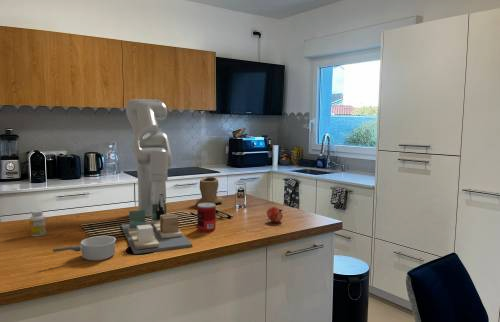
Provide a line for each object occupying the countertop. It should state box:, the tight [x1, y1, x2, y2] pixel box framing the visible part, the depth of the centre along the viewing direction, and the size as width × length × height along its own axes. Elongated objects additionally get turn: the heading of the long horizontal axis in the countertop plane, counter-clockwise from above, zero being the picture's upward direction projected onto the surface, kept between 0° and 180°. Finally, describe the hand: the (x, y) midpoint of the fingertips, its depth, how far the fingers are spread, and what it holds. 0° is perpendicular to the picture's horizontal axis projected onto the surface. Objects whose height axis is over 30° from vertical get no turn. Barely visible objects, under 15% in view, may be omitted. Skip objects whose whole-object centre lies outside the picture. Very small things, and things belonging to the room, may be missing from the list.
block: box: [137, 224, 153, 243], centre depth 145 cm, size 5×5×5 cm
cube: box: [160, 213, 180, 234], centre depth 157 cm, size 6×6×6 cm
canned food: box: [196, 203, 217, 233], centre depth 167 cm, size 8×8×11 cm
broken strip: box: [128, 210, 159, 249], centre depth 150 cm, size 25×8×8 cm, turn 25°
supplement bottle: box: [29, 209, 47, 237], centre depth 157 cm, size 5×5×10 cm
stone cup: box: [196, 176, 224, 204], centre depth 216 cm, size 15×12×15 cm
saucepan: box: [52, 235, 117, 261], centre depth 132 cm, size 12×20×6 cm, turn 131°
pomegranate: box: [266, 206, 284, 224], centre depth 181 cm, size 7×7×10 cm
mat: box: [120, 221, 193, 255], centre depth 158 cm, size 37×21×1 cm, turn 25°
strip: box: [150, 202, 183, 238], centre depth 163 cm, size 25×8×8 cm, turn 25°
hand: (159, 217), depth 174 cm, fingers open, 2 cm apart
